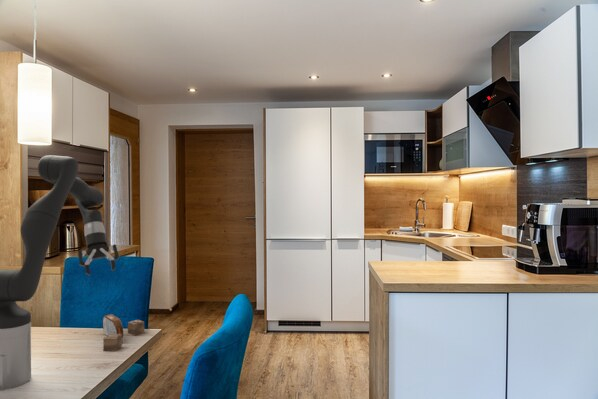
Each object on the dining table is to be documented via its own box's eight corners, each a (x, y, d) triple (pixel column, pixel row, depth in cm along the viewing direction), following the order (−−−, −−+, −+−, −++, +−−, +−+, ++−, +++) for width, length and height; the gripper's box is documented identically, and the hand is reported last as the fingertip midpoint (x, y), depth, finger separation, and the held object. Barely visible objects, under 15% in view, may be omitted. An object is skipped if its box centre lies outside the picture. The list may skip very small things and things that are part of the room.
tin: (124, 342, 152) (124, 319, 151) (115, 344, 149) (115, 321, 149) (109, 332, 162) (109, 311, 162) (101, 334, 160) (101, 313, 160)
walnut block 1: (115, 351, 143) (115, 338, 142) (103, 351, 143) (103, 338, 143) (121, 346, 147) (121, 333, 147) (110, 346, 147) (110, 333, 147)
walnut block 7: (133, 335, 158) (133, 324, 158) (127, 333, 161) (127, 321, 161) (144, 332, 162) (144, 321, 162) (138, 330, 165) (138, 319, 165)
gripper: (75, 234, 157) (80, 273, 152) (114, 228, 165) (121, 266, 159) (76, 241, 164) (81, 279, 158) (113, 235, 171) (120, 271, 165)
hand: (101, 272), depth 159 cm, fingers open, 8 cm apart
